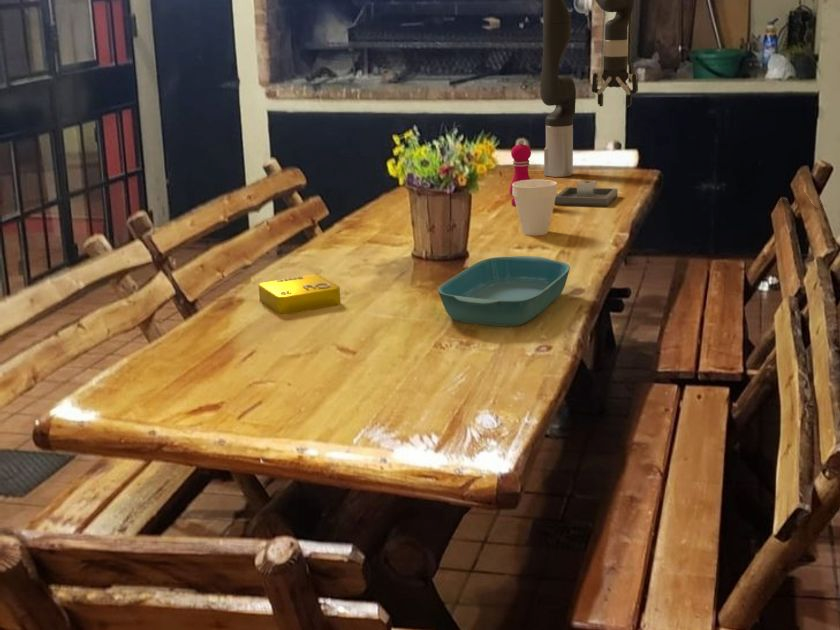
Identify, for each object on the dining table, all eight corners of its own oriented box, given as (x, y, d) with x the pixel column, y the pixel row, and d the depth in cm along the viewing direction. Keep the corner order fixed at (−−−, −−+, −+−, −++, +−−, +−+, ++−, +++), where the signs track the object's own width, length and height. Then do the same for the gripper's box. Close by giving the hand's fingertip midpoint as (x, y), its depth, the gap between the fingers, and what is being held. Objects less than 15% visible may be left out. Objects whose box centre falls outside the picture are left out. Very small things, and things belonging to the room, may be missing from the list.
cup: (555, 238, 311) (555, 187, 307) (510, 237, 313) (509, 187, 309) (559, 227, 322) (559, 179, 318) (515, 227, 325) (514, 179, 321)
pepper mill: (505, 204, 356) (504, 139, 350) (526, 201, 359) (525, 136, 353) (517, 208, 350) (516, 141, 344) (538, 205, 353) (537, 139, 347)
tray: (554, 205, 352) (554, 196, 351) (567, 194, 366) (567, 187, 365) (606, 206, 346) (606, 198, 346) (617, 196, 361) (617, 188, 360)
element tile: (318, 291, 271) (316, 271, 269) (343, 306, 258) (342, 285, 256) (257, 301, 264) (255, 281, 263) (280, 317, 251) (278, 296, 250)
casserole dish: (525, 337, 231) (524, 303, 229) (423, 327, 240) (422, 294, 238) (582, 289, 262) (582, 259, 260) (490, 281, 272) (490, 252, 270)
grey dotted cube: (576, 199, 355) (576, 183, 353) (580, 196, 359) (580, 180, 358) (593, 200, 353) (593, 183, 352) (596, 196, 357) (596, 180, 356)
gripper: (640, 53, 364) (639, 105, 369) (596, 53, 369) (595, 104, 374) (635, 55, 358) (634, 108, 363) (590, 55, 363) (589, 107, 368)
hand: (614, 106), depth 369 cm, fingers open, 8 cm apart
